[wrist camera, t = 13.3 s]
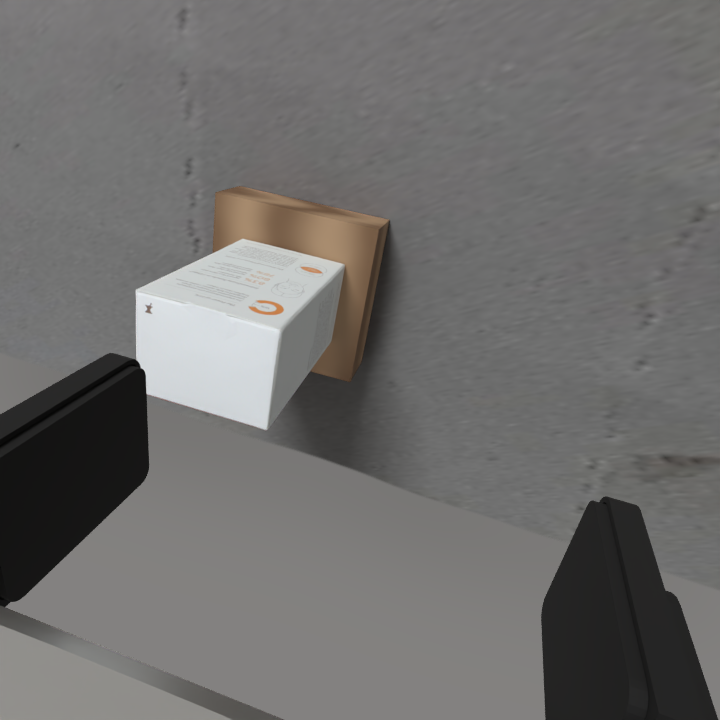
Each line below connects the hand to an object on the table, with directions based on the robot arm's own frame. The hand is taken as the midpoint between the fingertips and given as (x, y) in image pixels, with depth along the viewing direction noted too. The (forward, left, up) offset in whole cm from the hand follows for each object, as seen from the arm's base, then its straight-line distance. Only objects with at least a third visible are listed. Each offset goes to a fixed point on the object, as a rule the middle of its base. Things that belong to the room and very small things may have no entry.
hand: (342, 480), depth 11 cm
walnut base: (+11, +7, -31) cm, 33 cm away
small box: (+10, +7, -27) cm, 30 cm away
